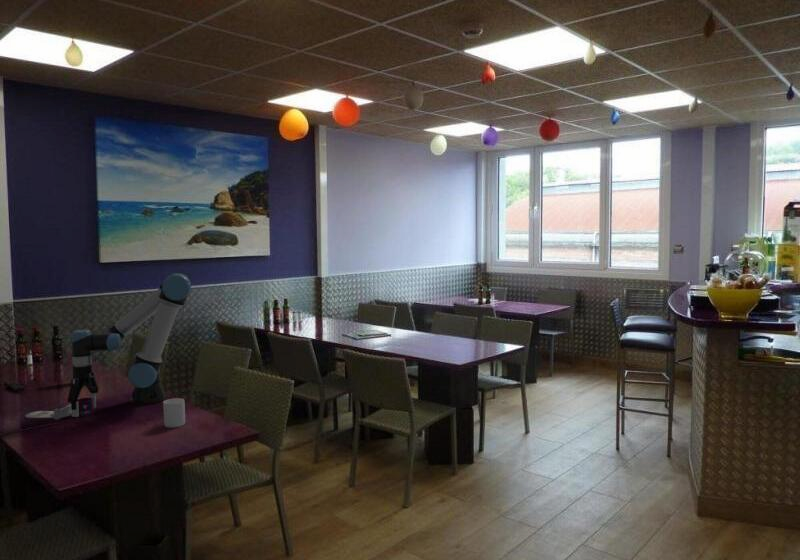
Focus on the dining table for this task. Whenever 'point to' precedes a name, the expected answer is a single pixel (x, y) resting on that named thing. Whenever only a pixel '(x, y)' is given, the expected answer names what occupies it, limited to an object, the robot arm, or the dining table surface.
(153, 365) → the robot arm
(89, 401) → the cup
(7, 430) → the dining table surface
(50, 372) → the dining table surface
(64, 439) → the dining table surface
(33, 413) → the pad
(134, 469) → the dining table surface
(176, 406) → the cup
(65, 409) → the divider wall
